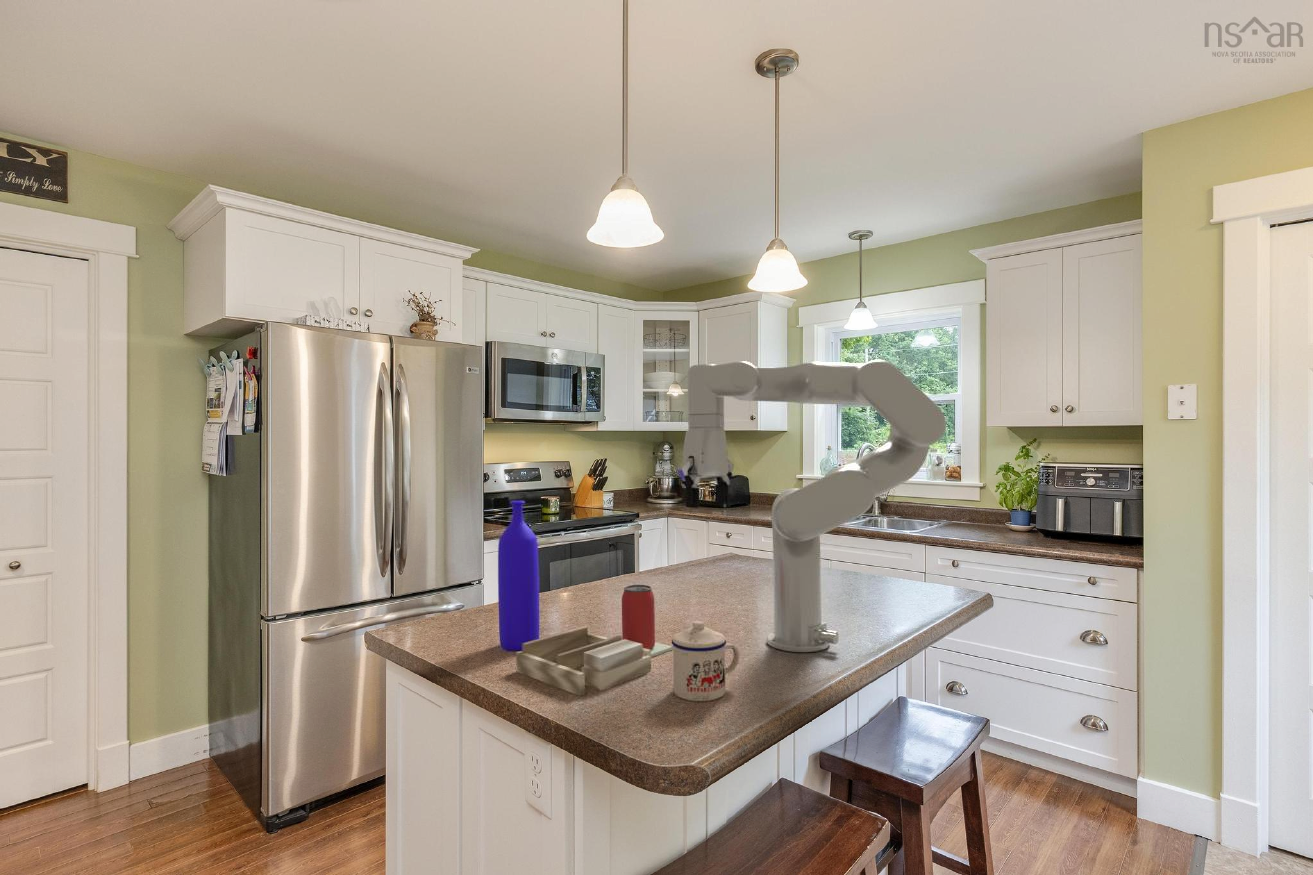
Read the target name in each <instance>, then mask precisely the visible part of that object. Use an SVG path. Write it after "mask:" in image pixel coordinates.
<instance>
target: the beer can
mask: <svg viewBox="0 0 1313 875" xmlns="http://www.w3.org/2000/svg"><path fill="white" fill-rule="evenodd" d="M655 611H656V610H655V595H654V592H653V590H652V586H650V585H648V584H631V585H627V586H625V587H624V588H623V593H622V595H621V634H622V635H621V636H622V640H624V639H626V640H629V641H633V642H637V643H640V644H643V648H646V649H649V650H650V649H652V648H653V647H654V646H655V642H656V630H655V629H656V627H655V626H656V624H655V623H656V621H655Z"/></svg>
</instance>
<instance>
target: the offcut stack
mask: <svg viewBox="0 0 1313 875" xmlns="http://www.w3.org/2000/svg"><path fill="white" fill-rule="evenodd" d="M582 672H583V673H584V677H585V686H588V687H590V688H593V689H596V690H599V691H604V690H607V689H609V688H611V687H614V686H616V685H619V684H622V683H625V682H627V681H630V680H633V679H635V678H637V677H640V676H643V675H645V674H648V673H650V672H651V669H650V656H647V655H644V654H643V644H640V643H637V642H633V641H629V640H626V639H624V640H621V641H618V642H615V643H612V644H609V645H606V646H602V647H599V648H596V649H593V650H590V651H587V652H584V667H582Z"/></svg>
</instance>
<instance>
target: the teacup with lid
mask: <svg viewBox="0 0 1313 875" xmlns="http://www.w3.org/2000/svg"><path fill="white" fill-rule="evenodd" d="M671 644H672V647H673V650H672V654H673V656H672V657H673V659H672V660H673V662H672V663H673V692H674V694H675V695H676V696H677V697H678V698H681V699H683V700H687V701H691V702H692V701H693V702H708V701H709V702H710V701H713V700H718V699H719V698H722V697H723V696H724V695H725V694H726V687H727V686H726V685H727V684H726V675H728V674H730V673H732V672H733V671H735V669H736V668H737V666H738V664H739V662H740V661H739V660H740V651H739V648H738V647H737V646H735V644H732V643H730V642H729V643H727V640H726V637H725V635H724V634H722V633H720V632H718V631H716V630H712V629H711V628H709V627H706V626H705V622H704V621H702V620H695V621H693V622H692V626H690V627H688V628H686V629H685V630H683V631H679V632H677V633H675V634H674V635H673V636H672V638H671ZM727 649H731V650H732V651H733V658H732V661H731V663H730V664H729V665H728V667H726V650H727Z"/></svg>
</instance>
